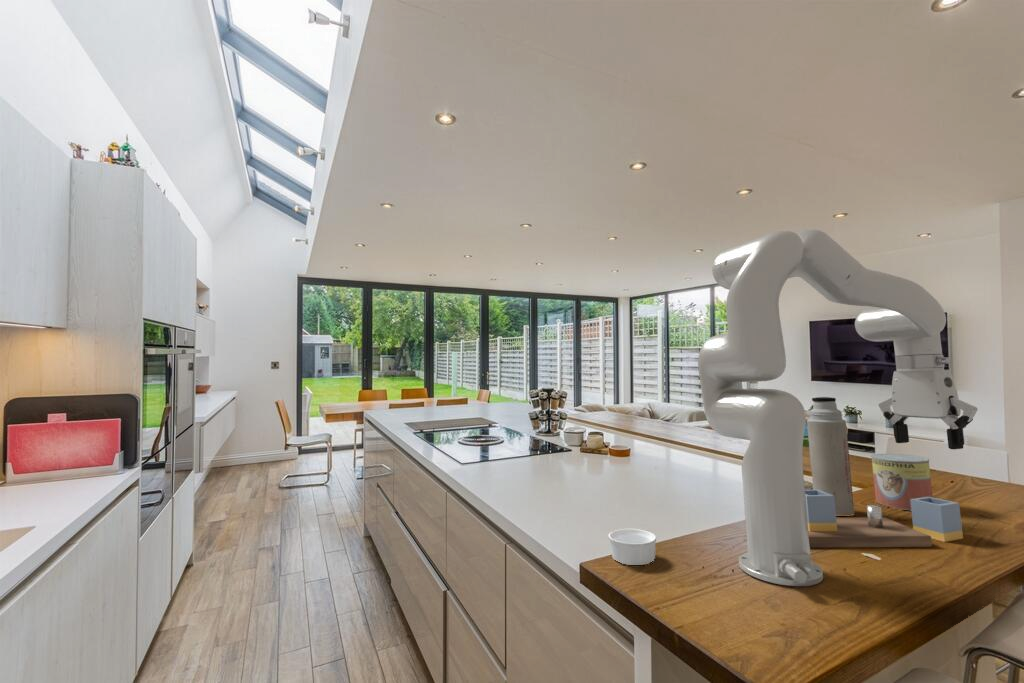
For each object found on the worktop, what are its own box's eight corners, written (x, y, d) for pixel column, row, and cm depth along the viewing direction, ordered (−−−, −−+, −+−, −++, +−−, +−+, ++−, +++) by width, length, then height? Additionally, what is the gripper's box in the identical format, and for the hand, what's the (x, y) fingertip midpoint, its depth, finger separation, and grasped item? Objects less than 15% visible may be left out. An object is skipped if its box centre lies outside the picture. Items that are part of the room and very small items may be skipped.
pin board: (932, 546, 87) (928, 514, 87) (803, 547, 89) (800, 516, 89) (885, 526, 99) (882, 498, 99) (772, 527, 101) (770, 500, 101)
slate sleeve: (963, 538, 91) (959, 502, 91) (944, 542, 89) (940, 505, 90) (931, 530, 96) (928, 496, 96) (913, 533, 94) (910, 499, 95)
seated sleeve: (837, 531, 91) (834, 495, 92) (809, 531, 92) (806, 496, 92) (821, 522, 97) (818, 489, 97) (795, 522, 97) (792, 489, 98)
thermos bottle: (858, 512, 110) (847, 396, 112) (849, 519, 105) (837, 398, 107) (820, 505, 116) (811, 396, 118) (809, 512, 111) (800, 397, 113)
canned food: (866, 503, 116) (861, 456, 117) (890, 497, 121) (885, 452, 122) (920, 514, 106) (914, 463, 107) (944, 507, 111) (938, 458, 112)
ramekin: (600, 554, 89) (599, 532, 89) (638, 547, 92) (637, 525, 92) (627, 572, 80) (626, 546, 81) (667, 563, 83) (666, 539, 84)
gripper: (982, 361, 88) (993, 450, 87) (888, 365, 105) (895, 439, 103) (956, 362, 86) (967, 453, 85) (864, 366, 103) (871, 441, 101)
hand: (928, 445), depth 94 cm, fingers open, 9 cm apart
